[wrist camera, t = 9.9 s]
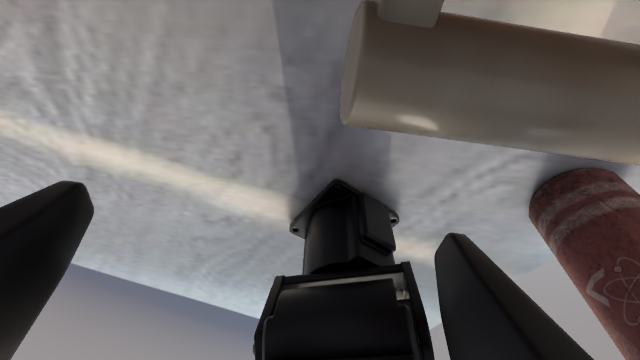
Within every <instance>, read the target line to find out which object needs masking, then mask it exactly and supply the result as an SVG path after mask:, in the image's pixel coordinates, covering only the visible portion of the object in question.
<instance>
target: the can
mask: <svg viewBox="0 0 640 360" xmlns="http://www.w3.org/2000/svg"><path fill="white" fill-rule="evenodd" d="M529 218H530V219H531V221H532V223H533V225H534V226H535V227H536V229H537V230H538V232H539V233H540V235H541V236H542V238H543V239H544V241H545V242H546V244H547V245H548V247H549V248H550V249H551V251H552V252H553V254H554V255H555V257H556V258H557V260H558V261H559V263H560V264H561V266H562V267H563V269H564V270H565V271H566V273H567V274H568V276H569V277H570V279H571V280H572V282H573V283H574V285H575V286H576V288H577V289H578V290H579V292H580V293H581V295H582V296H583V298H584V299H585V301H586V302H587V304H588V305H589V306H590V308H591V309H592V311H593V313H594V314H595V316H596V317H597V318H598V320H599V321H600V323H601V324H602V326H603V327H604V329H605V330H606V332H607V333H608V335H609V336H610V338H611V339H612V340H613V342H614V343H615V345H616V346H617V348H618V349H619V351H620V352H621V354H622V355H623V357H624V358H625V359H626V360H640V195H639V194H638V193H637V192H636V191H635V190H634V189H633V188H631V187H630V186H629V185H628V184H627V183H626V182H624V181H623V180H622V179H621V178H620V177H619V176H617V175H616V174H615V173H614V172H610V171H607V170H603V169H596V168H580V169H576V170H572V171H568V172H565V173H563V174H560V175H558V176H556V177H554V178H552V179H551V180H549V181H548V182H546V183H545V184H544V185H542V186H541V187H540V188H539V189H538V191H537V192H536V193H535V194H534V196H533V198H532V200H531V202H530V207H529Z"/></svg>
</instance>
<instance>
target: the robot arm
mask: <svg viewBox="0 0 640 360" xmlns="http://www.w3.org/2000/svg"><path fill="white" fill-rule="evenodd" d="M335 186H340V187H338V188H336V187H335ZM93 214H94V207H93V204H92V201H91V199H90V196H89V193H88V191H87V188H86V186H85V185H84V184H83V183H80V182H73V181H60V182H58V183H55V184H53V185H51V186H48V187H46V188H44V189H42V190H39V191H37V192H35V193H32V194H30V195H28V196H25V197H23V198H21V199H19V200H16V201H14V202H12V203H9V204H7V205H5V206H2V207H0V360H11V358H12V356H13V355H14V353H15V352H16V350H17V348H18V347H19V345H20V344H21V342H22V341H23V339H24V337H25V336H26V334H27V333H28V331H29V330H30V328H31V326H32V325H33V323H34V322H35V320H36V319H37V317H38V315H39V314H40V312H41V311H42V309H43V307H44V306H45V304H46V303H47V301H48V300H49V298H50V296H51V295H52V293H53V292H54V290H55V289H56V287H57V285H58V284H59V282H60V280H61V279H62V277H63V276H64V274H65V272H66V270H67V268H68V266H69V264H70V263H71V260H72V258H73V256H74V254H75V252H76V250H77V248H78V246H79V244H80V242H81V240H82V238H83V236H84V234H85V232H86V230H87V228H88V226H89V224H90V222H91V220H92V217H93ZM398 223H399V216H398V214H397V213H395V212H393V211H392V210H390V209H388V207H387V206H386V205H384V204H382V203H381V202H379V201H377V200H376V199H374V198H372V197H371V196H369V195H367V194H366V193H364V192H360V191H358V190H356V189H355V188H353V187H351V186H350V185H348V184H346V183H345V182H343V181H341V180H334V181H332V182H331V183H330V184H329V185H328V186H327V187H326V188H325V189H324V190H323V191H322V192H321V193H320V194H319V195H318V196H317V197H316V198H315V200H314V201H313V202H312V203H311V204H310V205H309V206H308V207H307V208H306V209H305V210H304V211H303V212H302V213H301V214H300V215H299V216H298V217H297V218H296V219H295V220H294V221H293V222H292V223H291V224H290V232H291V233H293V234H295V235H297V236H299V237H301V238H303V239H305V246H304V259H303V273H302V275H296V276H287V277H285V276H284V275H283V276H276V278H275V280H274V283H273V286H272V288H271V290H270V293H269V296H268V298H267V301H266V304H265V307H264V310H263V312H262V315H261V318H260V321H259V323H258V326H257V329H256V332H255V335H254V340H255V343H254V345H253V353H254V355H255V360H434V352H433V347H432V342H431V336H430V331H429V327H428V322H427V318H426V314H425V311H424V307H423V304H422V300H421V297H420V294H419V291H418V287H417V284H416V281H415V278H414V274H413V271H412V268H411V264H410V261H407V262H401V264H395V262H394V257H393V252H394V251H396V245H395V240H394V235H393V230H392V227H394V226H395V225H396V224H398ZM434 260H435V270H436V279H437V288H438V296H439V305H440V313H441V318H442V323H443V328H444V333H445V337H446V341H447V346H448V350H449V355H450V359H451V360H594V359H593V358H592V357H591V356H590V355H588V354H587V353H586V352H585V351H584V350H583V349H582V348H581V347H580V346H579V345H578V344H577V343H576V342H575V341H574V340H573V339H572V338H571V337H570V336H569V335H568V334H567V333H566V332H565V331H564V330H563V329H562V328H561V327H560V326H559V325H558V324H556V322H555V321H554V320H553V319H551V318H550V317H549V316H548V315H547V314H546V313H545V312H544V311H543V310H542V309H541V308H540V307H539V306H538V305H537V304H536V303H535V302H534V301H533V300H532V299H531V298H530V297H529V296H528V295H527V294H526V293H525V292H524V291H523V290H521V288H519V287H518V285H516V284H515V283H514V282H513V281H512V280H511V279H510V278H509V277H508V276H507V275H506V274H505V273H504V272H503V271H502V270H501V269H500V268H499V267H498V266H497V265H496V264H495V263H494V262H493V261H492V260H491V259H490V258H489V257H488V256H487V255H486V254H485V253H484V252H483V251H481V250H480V249H479V248H478V247H477V246H476V245H475V244H474V243H473V242H472V241H471V240H470V239H469V238H468V237H467V236H466V235H463V234H457V233H449V234H447V235H446V236H445V238H444V240H443V241H442V243H441V244H440V246H439V248H438V249H437V251H436V253H435V259H434Z"/></svg>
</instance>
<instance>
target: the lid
mask: <svg viewBox="0 0 640 360" xmlns="http://www.w3.org/2000/svg"><path fill="white" fill-rule="evenodd" d="M443 3H444V0H364V1H362V2H361V3H360V5H359V7H358V9H357V11H356V14H355V17H354V21H353V24H352V28H351V33H350V37H349V42H348V47H347V52H346V58H345V64H344V70H343V78H342V86H341V96H340V118H341V122H342V123H343V124H344V125H347V126H354V127H361V128H369V129H376V130H383V131H391V132H398V133H405V134H413V135H420V136H427V137H435V138H442V139H449V140H457V141H464V142H471V143H479V144H486V145H493V146H501V147H508V148H515V149H523V150H530V151H538V152H545V153H552V154H560V155H567V156H574V157H582V158H589V159H596V160H604V161H611V162H618V163H626V164H633V165H640V45H638V44H632V43H626V42H620V41H614V40H607V39H601V38H595V37H589V36H583V35H577V34H571V33H565V32H559V31H553V30H547V29H541V28H535V27H529V26H523V25H517V24H511V23H505V22H499V21H493V20H487V19H481V18H475V17H469V16H463V15H457V14H451V13H445V12H440V11H441V8H442V5H443Z"/></svg>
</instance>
